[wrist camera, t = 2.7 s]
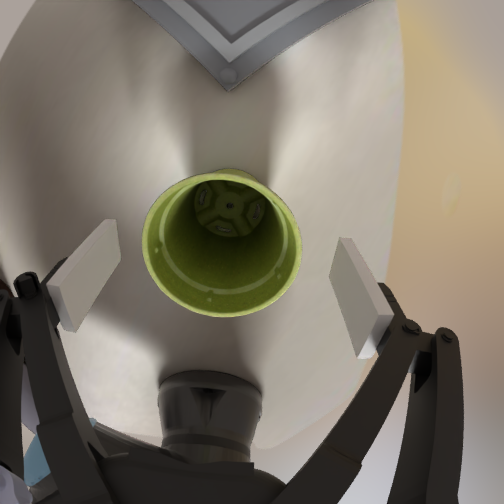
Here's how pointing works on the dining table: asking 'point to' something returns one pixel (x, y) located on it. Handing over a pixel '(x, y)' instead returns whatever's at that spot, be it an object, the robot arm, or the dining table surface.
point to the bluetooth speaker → (28, 404)
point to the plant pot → (221, 244)
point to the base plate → (242, 29)
